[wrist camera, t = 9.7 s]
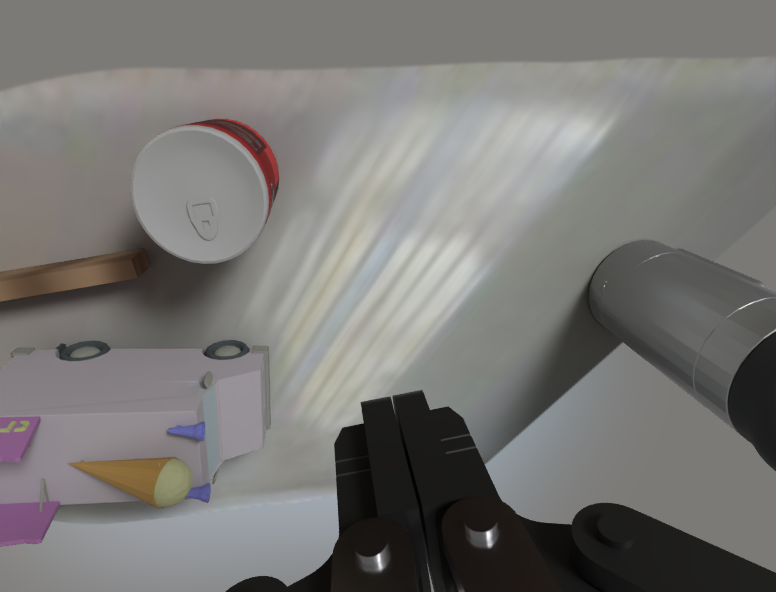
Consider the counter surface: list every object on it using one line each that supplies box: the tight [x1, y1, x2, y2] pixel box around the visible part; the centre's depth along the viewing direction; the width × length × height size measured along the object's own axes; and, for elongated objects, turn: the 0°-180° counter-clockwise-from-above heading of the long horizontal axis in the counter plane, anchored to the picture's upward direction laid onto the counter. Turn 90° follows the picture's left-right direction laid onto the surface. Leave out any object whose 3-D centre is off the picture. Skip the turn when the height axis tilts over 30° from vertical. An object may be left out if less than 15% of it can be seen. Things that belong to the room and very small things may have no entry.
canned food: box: [130, 119, 279, 264], centre depth 34 cm, size 8×8×11 cm
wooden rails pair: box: [0, 248, 150, 301], centre depth 40 cm, size 14×18×6 cm
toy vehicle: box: [0, 340, 271, 546], centre depth 37 cm, size 9×20×15 cm, turn 86°
